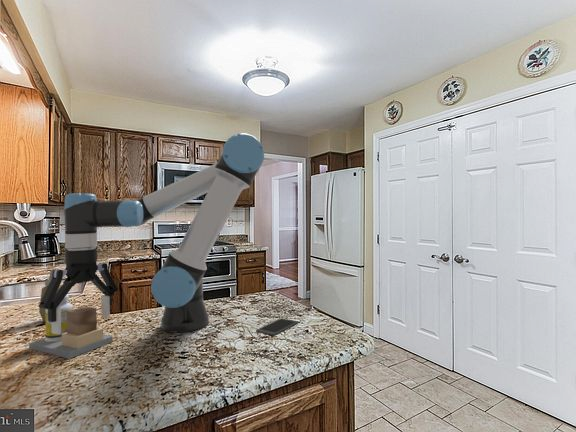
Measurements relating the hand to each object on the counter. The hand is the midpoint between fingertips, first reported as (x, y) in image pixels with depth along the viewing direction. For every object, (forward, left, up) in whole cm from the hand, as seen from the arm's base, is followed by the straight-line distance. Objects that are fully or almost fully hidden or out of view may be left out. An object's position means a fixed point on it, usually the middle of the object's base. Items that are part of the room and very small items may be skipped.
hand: (82, 325), depth 87 cm
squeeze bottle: (+35, -12, -6) cm, 38 cm away
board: (+5, 0, -6) cm, 8 cm away
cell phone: (-44, -34, -7) cm, 56 cm away
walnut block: (0, 0, -2) cm, 2 cm away
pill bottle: (+10, 0, -5) cm, 12 cm away
